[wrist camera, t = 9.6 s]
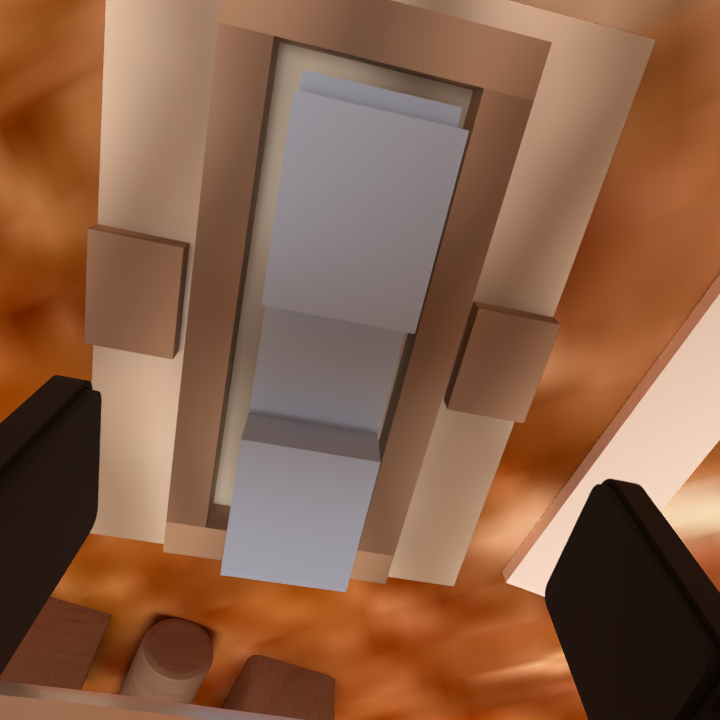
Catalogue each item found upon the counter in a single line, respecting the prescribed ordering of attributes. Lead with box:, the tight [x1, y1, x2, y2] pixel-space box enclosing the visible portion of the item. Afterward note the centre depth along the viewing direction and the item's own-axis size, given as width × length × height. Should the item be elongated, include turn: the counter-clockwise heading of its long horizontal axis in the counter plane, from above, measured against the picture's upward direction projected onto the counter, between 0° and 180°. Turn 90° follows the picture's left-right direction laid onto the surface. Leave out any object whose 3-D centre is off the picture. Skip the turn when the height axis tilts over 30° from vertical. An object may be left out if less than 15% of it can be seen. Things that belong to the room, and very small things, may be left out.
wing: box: [502, 274, 720, 597], centre depth 24 cm, size 4×16×1 cm, turn 155°
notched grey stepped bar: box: [220, 70, 469, 592], centre depth 18 cm, size 16×4×6 cm, turn 168°
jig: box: [84, 0, 656, 586], centre depth 20 cm, size 16×22×2 cm
